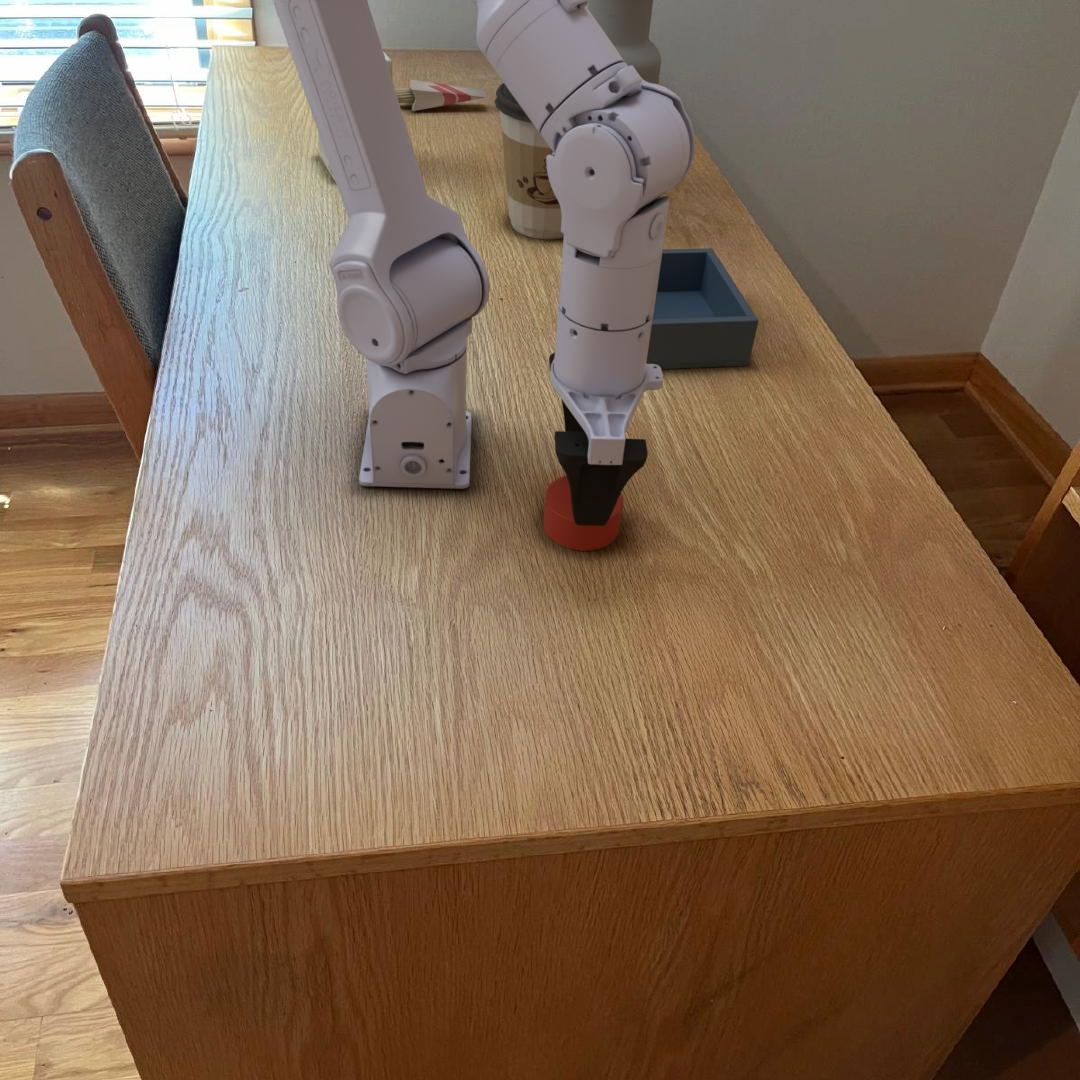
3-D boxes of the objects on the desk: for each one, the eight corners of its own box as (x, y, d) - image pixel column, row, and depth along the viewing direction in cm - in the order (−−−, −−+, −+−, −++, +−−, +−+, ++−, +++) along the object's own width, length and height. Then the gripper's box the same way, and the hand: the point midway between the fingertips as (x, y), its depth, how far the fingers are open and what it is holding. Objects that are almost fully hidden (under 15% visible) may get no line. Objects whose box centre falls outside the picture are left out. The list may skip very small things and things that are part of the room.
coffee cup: (486, 244, 105) (491, 92, 95) (494, 198, 113) (498, 55, 103) (597, 252, 105) (613, 101, 95) (596, 206, 113) (610, 63, 104)
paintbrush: (487, 86, 131) (329, 92, 129) (488, 108, 133) (331, 114, 130) (484, 76, 134) (329, 81, 131) (485, 98, 135) (332, 103, 133)
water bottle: (548, 170, 120) (567, -108, 102) (627, 166, 123) (659, -106, 104) (573, 206, 113) (598, -86, 94) (656, 201, 115) (696, -84, 97)
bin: (748, 365, 90) (759, 320, 87) (609, 371, 88) (615, 325, 85) (704, 291, 100) (712, 247, 97) (578, 294, 98) (582, 250, 95)
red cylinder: (622, 552, 71) (626, 523, 69) (544, 550, 70) (546, 521, 69) (615, 502, 75) (619, 474, 73) (541, 500, 74) (544, 472, 73)
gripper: (689, 375, 56) (656, 558, 65) (658, 254, 67) (634, 426, 76) (560, 371, 56) (545, 556, 65) (550, 250, 66) (538, 423, 75)
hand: (586, 485), depth 70 cm, fingers open, 7 cm apart
